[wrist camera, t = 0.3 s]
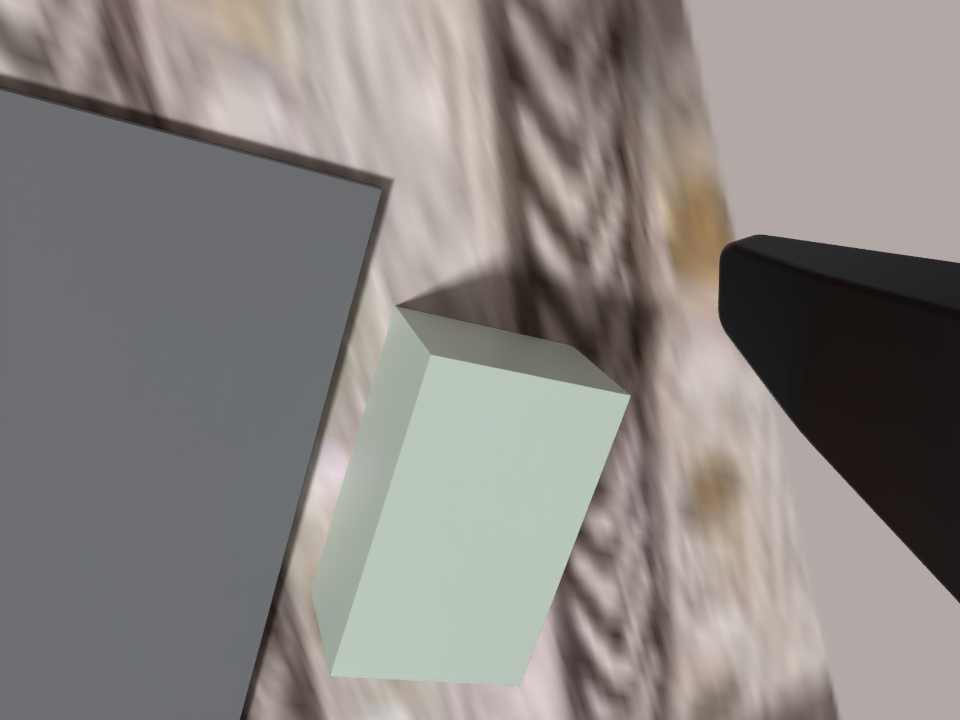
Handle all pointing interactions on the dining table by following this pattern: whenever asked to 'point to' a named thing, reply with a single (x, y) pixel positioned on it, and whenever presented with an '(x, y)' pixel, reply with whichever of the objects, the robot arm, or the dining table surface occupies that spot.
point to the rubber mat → (155, 404)
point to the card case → (461, 502)
